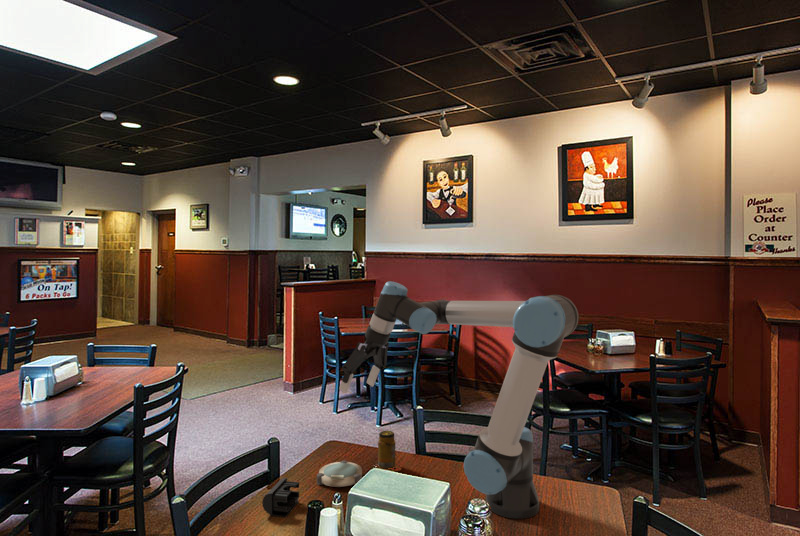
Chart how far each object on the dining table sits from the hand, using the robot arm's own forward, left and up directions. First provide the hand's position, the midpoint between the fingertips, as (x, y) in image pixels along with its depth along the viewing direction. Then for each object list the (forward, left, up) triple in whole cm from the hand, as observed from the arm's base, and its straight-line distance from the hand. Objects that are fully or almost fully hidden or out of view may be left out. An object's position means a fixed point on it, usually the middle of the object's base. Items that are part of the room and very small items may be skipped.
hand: (356, 387), depth 151 cm
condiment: (-9, -11, -31) cm, 34 cm away
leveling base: (+6, -2, -31) cm, 31 cm away
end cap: (+20, +17, -31) cm, 40 cm away
